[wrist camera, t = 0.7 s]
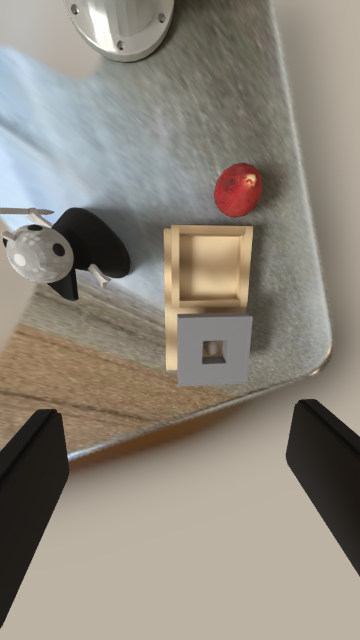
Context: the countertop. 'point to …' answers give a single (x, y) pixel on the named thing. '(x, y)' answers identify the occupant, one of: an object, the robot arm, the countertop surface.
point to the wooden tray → (204, 277)
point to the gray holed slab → (210, 328)
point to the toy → (65, 249)
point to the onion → (238, 190)
